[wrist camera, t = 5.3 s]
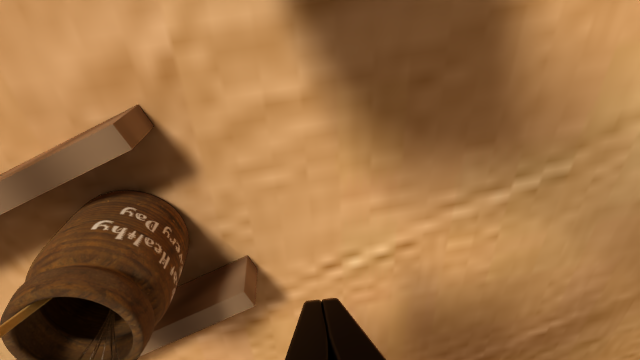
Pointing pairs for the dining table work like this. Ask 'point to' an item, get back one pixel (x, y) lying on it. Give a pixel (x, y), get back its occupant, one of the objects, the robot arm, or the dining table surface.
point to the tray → (96, 149)
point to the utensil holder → (99, 282)
